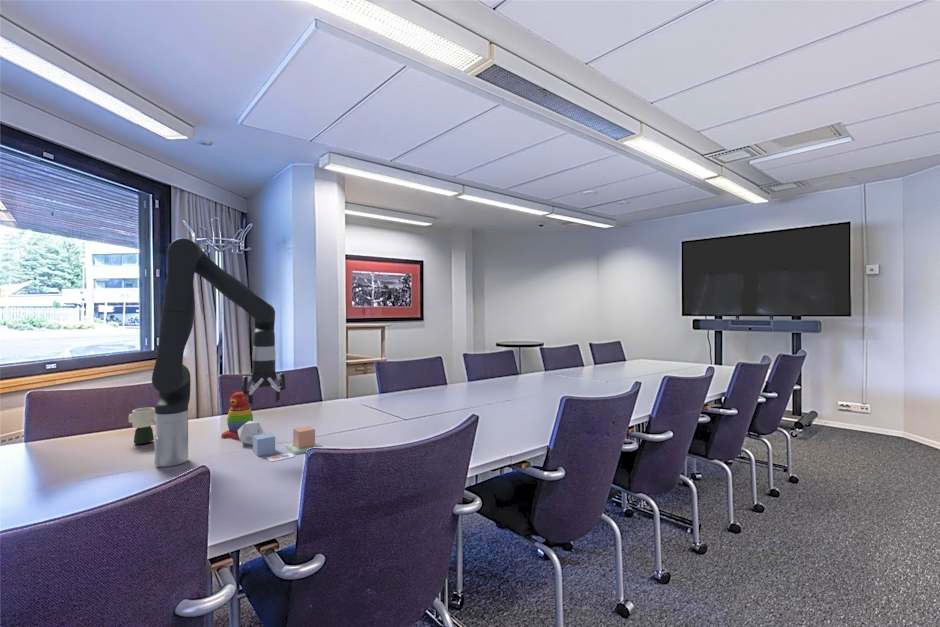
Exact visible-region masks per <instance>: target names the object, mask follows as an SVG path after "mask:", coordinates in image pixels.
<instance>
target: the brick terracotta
mask: <svg viewBox="0 0 940 627" xmlns="http://www.w3.org/2000/svg"><path fill="white" fill-rule="evenodd" d="M292 429H293V430H292V433H293V434H292V442H293V443H292V444H293V445H295V446H296V447H297V448H304V447H309V446H314V445H315V442H316V429H315V428H314V427H312V426H310V425H307V426H306V425H305V426H300V427H295V428H292Z"/></svg>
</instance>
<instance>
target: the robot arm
mask: <svg viewBox="0 0 940 627" xmlns="http://www.w3.org/2000/svg"><path fill="white" fill-rule="evenodd" d="M166 253H167V279H166V285H165V290H164V294H163V301H162V306H161V314H160V324H159V325H160V326H159V327H160V328H159V335H158V349H157V356H156V359H155V362H154V367H153V370H152V376H151V383H152V386H153V388H154V389H155V390H156V391H157V392H159V394H158V399H157V401H156V403H155V407H154V408H155V423H154V427H155V431H154V432H155V433H154V465H155V467H156V468H161V467H164V468H165V467H173V466H178V465H181V464H184V463H187V462H188V461H189V403H190V400H191V381H192V380H191V372H190V370H189V368H188V367H187V366H186V365H185V364H184V353H185V349H186V346H187V343H188V340H189V338H190V335H191V333H192V330H193V326H194V322H195V321H194V320H195V309H196V301H195V291H194V279H195V278H194V277H195V274H198V275H199V277H201V278H203V279H205V280H206V281H207V282H208V283H209V284H211V285H212V286H213V287H214V288H215V289H216V290H217V291H218V292H219V293H221V294H222V295H223V296H224V297H225V298H226V299H228V300H229V301H231V302H232V303H234V304H235V305H237V306H238V307H239V308H241V309H242V310H244V311H245V312H246V313H247V314H248V315H250V316H251V317H252V318H253V319H254V331H253V348H252V356H251V358H252V374H251V376H250V375H248V376H247V375H242V378H241V379H242V380H241V391H240V392H242V393H244V394H247V402H248V403H247V405H249V406H253V405H254V396H253V394H254V392H255V391H256V390H257V389H258V388H264V387H268V388H269V387H272V389H273V390H274V392H273V393H274V394H273V395H274V396H273V401H274V403H278V402H279V401H280V400H281V399H280V394H281V391H283V390H286V376H285V374H284V373H283V372H279V373H276V347H275V346H276V334H275V323H276V322H275V320H276V311H275V308H274V307H273V305H272V304H270V303H268V302H267V301H265V300H264V299H263V298H261V297H260V296H258V295H257V294H256V293H255V292H254V291H253V290H251V289H250V288H249V287H248V286H247V285H245V284H244V283H243V282H241V281H240V280H239V279H237V278H236V277H234V276H233V275H231V274H230V273H228V272H227V271H225V270H224V269H223V268H221V267H220V266H219V265H217V263H215V262H214V261H213V260H212V259H211V258H210V256H208V255H207V254H206V252H204V251H203V250H202V248H201V247H200V245H199V244H198V243H196V242H195V241H193V240H191V239H189V238H184V237H182V238H181V237H180V238H177V239H174V240H173V241H172V242H171V243H170V244H169V245H168V248H167V252H166ZM276 379H278V381H279V386H278V385H277V384H276V382H275V380H276ZM250 381H252V382H253V383H252V384H251V385H250V387H249V389H248V383H249V382H250Z"/></svg>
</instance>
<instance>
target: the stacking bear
mask: <svg viewBox="0 0 940 627" xmlns="http://www.w3.org/2000/svg"><path fill="white" fill-rule="evenodd" d="M229 404H230V408H229V410H228V413H227V418H226V421H227V422H226V424H227V427H228V430H226V431H224V432H222V433H221V438H223V439H227V438H228V439H234V440H240V439H239V435H238V431H237V430H238V429H239V428H241V427H242V426H243V425H244V424H245V423H247V422H248V421H253V422H254V415H253V411H252V409H251V407H250V406H251V405H249V404H248V402H247V394H244V393H242V392H241V391H234V392H232V395H231V396H230V398H229Z"/></svg>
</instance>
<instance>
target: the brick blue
mask: <svg viewBox="0 0 940 627" xmlns="http://www.w3.org/2000/svg"><path fill="white" fill-rule="evenodd" d="M252 452H253V454H254V455H255V456H256V457H261V456H266V455H271V454H272V455H273V454H276V436H275V435H274V434H273V433H272V432H268V433H263V434H260V435H254V436H253V445H252Z"/></svg>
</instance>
